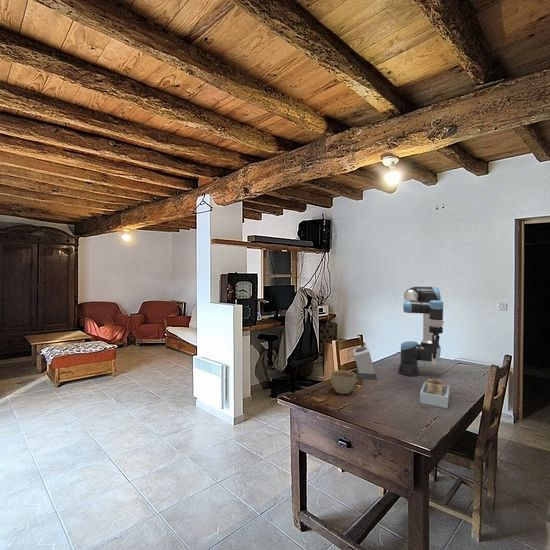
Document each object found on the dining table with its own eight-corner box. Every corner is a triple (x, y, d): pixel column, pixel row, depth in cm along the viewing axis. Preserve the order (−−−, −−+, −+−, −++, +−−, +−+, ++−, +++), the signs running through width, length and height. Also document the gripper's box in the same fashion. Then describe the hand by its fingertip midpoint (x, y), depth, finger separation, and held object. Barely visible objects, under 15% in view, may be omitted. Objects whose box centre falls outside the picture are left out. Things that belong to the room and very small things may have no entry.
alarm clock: (377, 379, 231) (377, 350, 231) (354, 378, 234) (354, 349, 234) (374, 371, 251) (374, 344, 251) (352, 369, 254) (353, 343, 254)
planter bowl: (337, 385, 219) (337, 368, 219) (360, 390, 209) (360, 373, 209) (324, 391, 207) (325, 374, 207) (348, 398, 197) (348, 379, 196)
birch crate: (425, 398, 195) (426, 383, 195) (427, 393, 203) (427, 379, 202) (443, 401, 190) (443, 386, 190) (443, 396, 198) (444, 381, 198)
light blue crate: (419, 403, 190) (420, 392, 190) (424, 391, 209) (424, 381, 209) (447, 408, 183) (447, 397, 183) (449, 395, 202) (449, 385, 202)
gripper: (441, 330, 188) (440, 367, 189) (444, 323, 210) (443, 357, 210) (426, 328, 192) (426, 365, 192) (431, 322, 213) (430, 355, 214)
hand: (435, 361), depth 201 cm, fingers open, 13 cm apart
